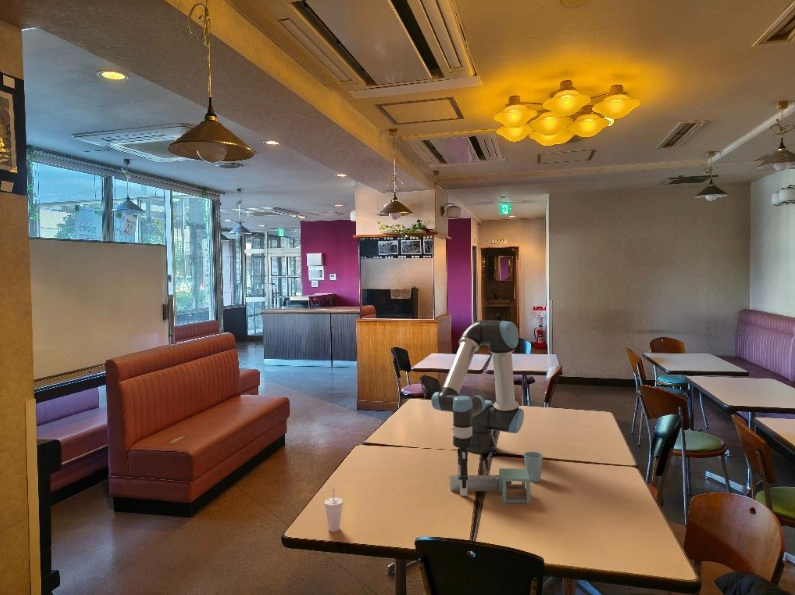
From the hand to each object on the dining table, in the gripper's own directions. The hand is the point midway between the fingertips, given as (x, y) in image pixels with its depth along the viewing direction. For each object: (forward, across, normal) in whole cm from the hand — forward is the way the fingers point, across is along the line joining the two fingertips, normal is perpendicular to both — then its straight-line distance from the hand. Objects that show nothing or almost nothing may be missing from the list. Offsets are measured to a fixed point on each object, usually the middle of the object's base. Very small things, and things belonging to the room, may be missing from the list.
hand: (462, 488), depth 209 cm
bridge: (0, +8, +19) cm, 21 cm away
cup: (0, -10, +30) cm, 32 cm away
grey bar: (0, 0, +7) cm, 7 cm away
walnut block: (0, +8, +19) cm, 21 cm away
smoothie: (+1, +34, -46) cm, 57 cm away
